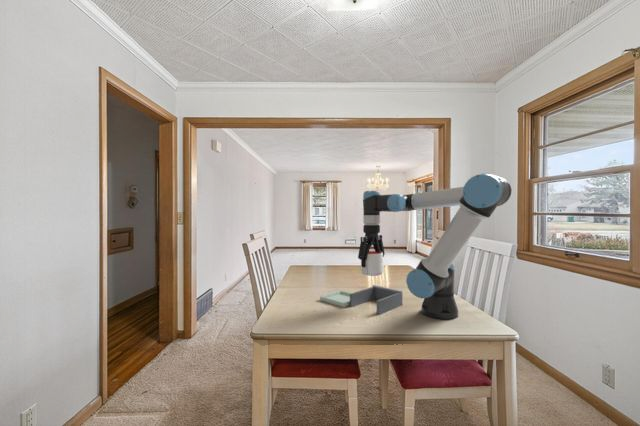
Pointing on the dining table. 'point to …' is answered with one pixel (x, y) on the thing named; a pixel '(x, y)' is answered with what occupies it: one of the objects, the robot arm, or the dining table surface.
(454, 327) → the dining table surface
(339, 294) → the tray
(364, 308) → the dining table surface
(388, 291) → the bay
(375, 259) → the cup
